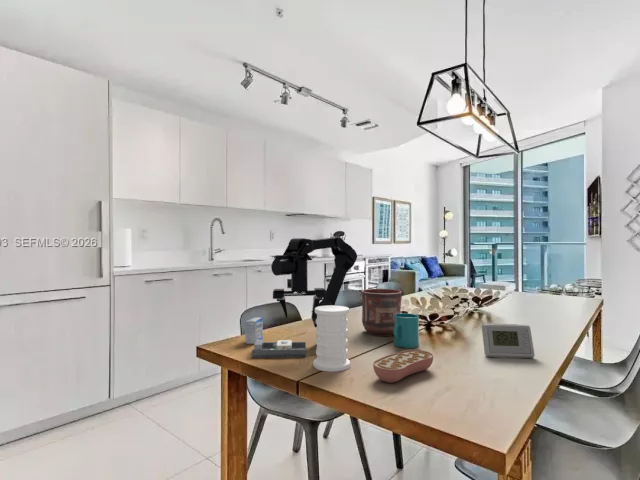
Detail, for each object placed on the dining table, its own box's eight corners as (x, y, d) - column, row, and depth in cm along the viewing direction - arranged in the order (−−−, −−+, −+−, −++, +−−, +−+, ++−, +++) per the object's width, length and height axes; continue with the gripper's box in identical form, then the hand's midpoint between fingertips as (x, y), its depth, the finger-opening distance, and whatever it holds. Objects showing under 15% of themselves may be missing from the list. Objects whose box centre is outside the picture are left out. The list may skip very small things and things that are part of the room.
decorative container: (314, 359, 123) (314, 305, 124) (349, 359, 123) (349, 305, 123) (312, 371, 112) (312, 311, 112) (351, 372, 111) (351, 311, 112)
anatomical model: (392, 390, 98) (392, 371, 98) (364, 380, 105) (364, 362, 105) (439, 370, 113) (439, 354, 113) (411, 363, 121) (411, 347, 121)
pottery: (411, 333, 158) (411, 291, 158) (381, 339, 148) (380, 294, 149) (382, 326, 173) (382, 287, 173) (352, 331, 163) (352, 290, 163)
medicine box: (255, 344, 142) (255, 321, 142) (244, 343, 143) (244, 321, 143) (263, 339, 149) (263, 317, 149) (252, 338, 150) (252, 317, 150)
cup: (384, 346, 139) (384, 316, 139) (403, 340, 147) (403, 312, 147) (405, 351, 133) (405, 320, 133) (423, 345, 141) (423, 315, 141)
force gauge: (291, 346, 134) (291, 339, 134) (291, 353, 126) (291, 346, 126) (273, 346, 134) (273, 339, 134) (271, 353, 125) (271, 346, 125)
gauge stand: (305, 348, 136) (305, 337, 136) (305, 356, 126) (306, 345, 126) (255, 349, 135) (255, 338, 135) (252, 357, 125) (252, 345, 125)
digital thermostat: (483, 357, 126) (483, 326, 126) (480, 350, 135) (480, 320, 135) (537, 362, 121) (537, 329, 121) (530, 354, 130) (530, 323, 130)
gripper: (323, 271, 141) (323, 312, 141) (273, 272, 139) (273, 313, 139) (326, 274, 130) (326, 318, 130) (272, 274, 128) (272, 320, 128)
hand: (299, 317), depth 132 cm, fingers open, 9 cm apart
